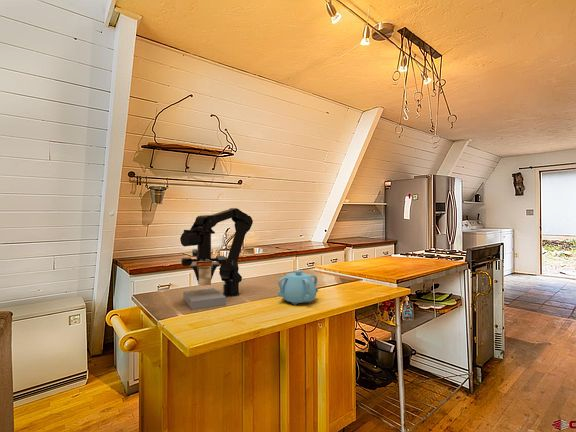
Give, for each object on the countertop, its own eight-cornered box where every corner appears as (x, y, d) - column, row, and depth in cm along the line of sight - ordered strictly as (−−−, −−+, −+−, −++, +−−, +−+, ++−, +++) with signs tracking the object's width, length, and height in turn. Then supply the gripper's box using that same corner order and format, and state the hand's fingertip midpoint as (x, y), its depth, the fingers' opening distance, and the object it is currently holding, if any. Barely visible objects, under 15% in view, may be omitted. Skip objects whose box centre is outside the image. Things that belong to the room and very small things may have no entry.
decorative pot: (272, 303, 137) (273, 271, 137) (290, 294, 151) (290, 266, 151) (307, 308, 129) (307, 275, 129) (322, 299, 143) (322, 269, 143)
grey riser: (214, 296, 148) (214, 288, 148) (226, 306, 133) (226, 297, 133) (183, 300, 142) (183, 291, 142) (191, 311, 126) (191, 301, 126)
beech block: (209, 282, 140) (209, 266, 140) (211, 284, 136) (211, 268, 136) (197, 283, 138) (197, 267, 138) (199, 285, 134) (199, 269, 134)
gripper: (222, 242, 148) (222, 275, 148) (180, 243, 141) (180, 278, 141) (227, 244, 138) (227, 280, 138) (182, 246, 131) (182, 283, 131)
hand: (204, 280), depth 137 cm, fingers closed on beech block, 5 cm apart
